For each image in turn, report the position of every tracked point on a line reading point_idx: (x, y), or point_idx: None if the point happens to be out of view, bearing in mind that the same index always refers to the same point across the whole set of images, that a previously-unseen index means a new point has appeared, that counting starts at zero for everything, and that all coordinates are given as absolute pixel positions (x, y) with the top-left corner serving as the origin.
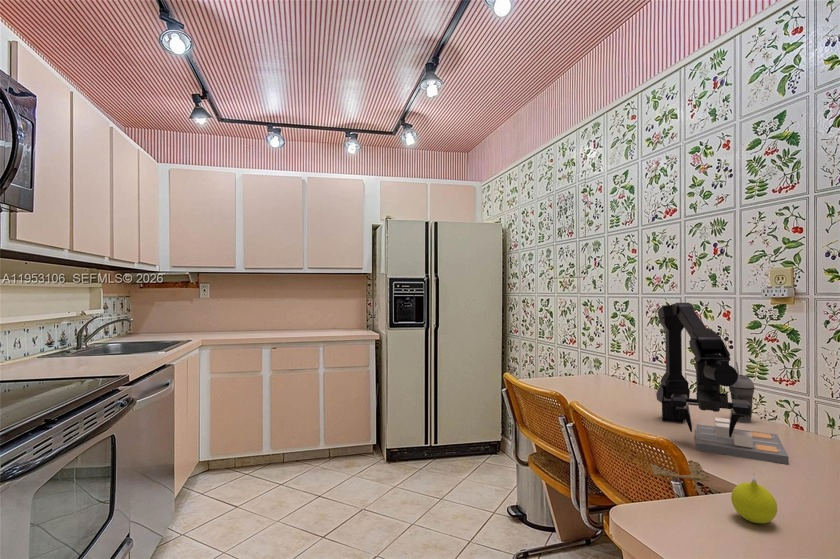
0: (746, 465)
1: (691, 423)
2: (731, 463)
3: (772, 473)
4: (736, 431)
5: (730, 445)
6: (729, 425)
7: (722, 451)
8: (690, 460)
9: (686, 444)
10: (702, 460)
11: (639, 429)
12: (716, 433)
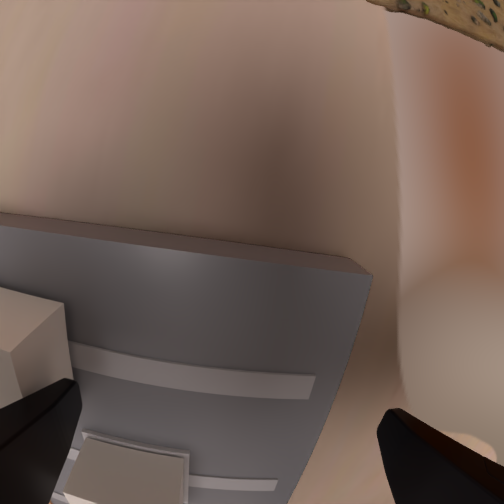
0: (73, 59)
1: (404, 480)
2: (152, 47)
3: (7, 19)
4: None
5: (93, 313)
6: (37, 478)
7: (166, 238)
8: (407, 2)
9: (375, 355)
10: (339, 40)
11: (478, 440)
12: (180, 475)
